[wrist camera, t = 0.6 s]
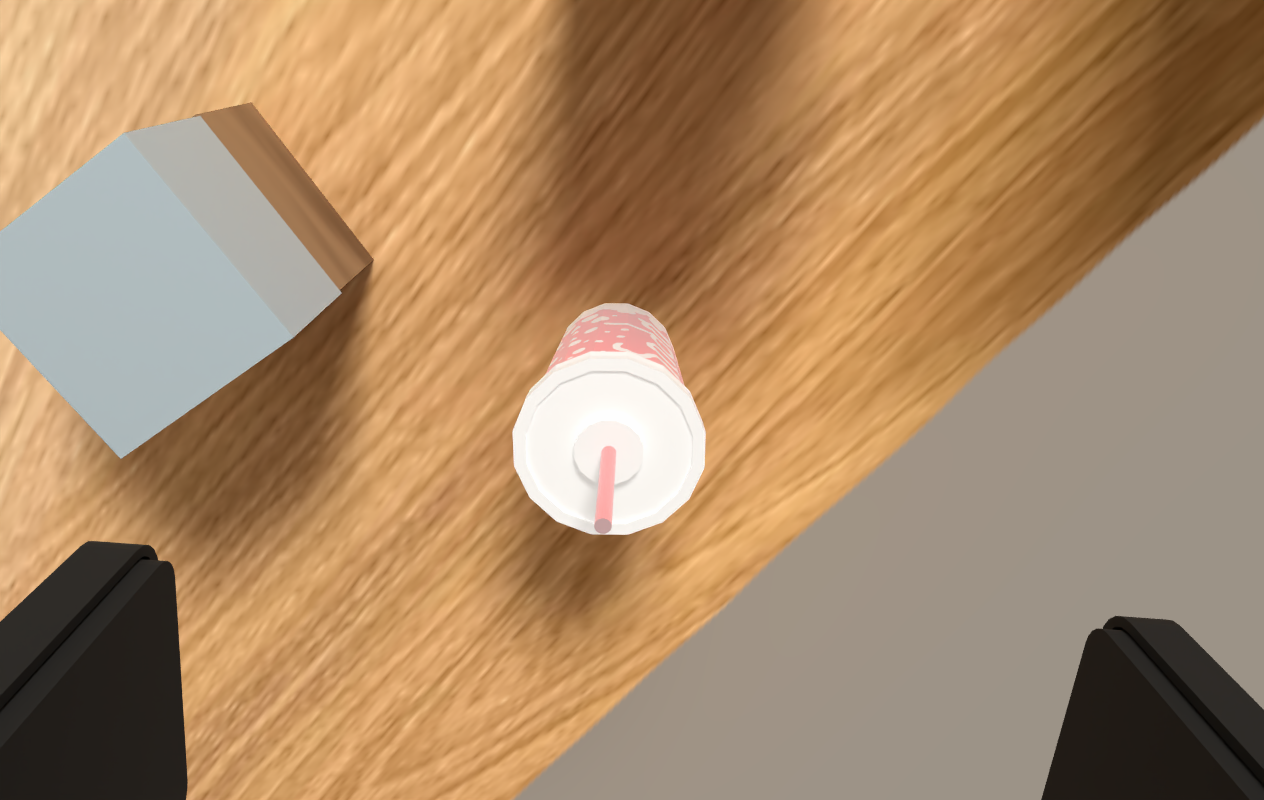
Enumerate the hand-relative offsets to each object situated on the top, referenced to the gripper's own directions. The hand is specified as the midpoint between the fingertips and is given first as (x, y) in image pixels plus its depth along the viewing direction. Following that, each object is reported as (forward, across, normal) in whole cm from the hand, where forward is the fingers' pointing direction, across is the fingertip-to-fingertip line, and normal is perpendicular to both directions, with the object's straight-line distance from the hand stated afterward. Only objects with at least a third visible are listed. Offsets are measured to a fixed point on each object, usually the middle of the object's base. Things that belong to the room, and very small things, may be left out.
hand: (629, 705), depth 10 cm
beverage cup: (+30, -1, +5) cm, 30 cm away
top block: (+25, +14, +2) cm, 29 cm away
